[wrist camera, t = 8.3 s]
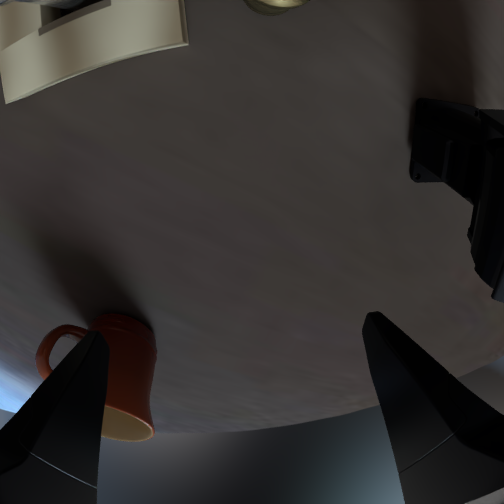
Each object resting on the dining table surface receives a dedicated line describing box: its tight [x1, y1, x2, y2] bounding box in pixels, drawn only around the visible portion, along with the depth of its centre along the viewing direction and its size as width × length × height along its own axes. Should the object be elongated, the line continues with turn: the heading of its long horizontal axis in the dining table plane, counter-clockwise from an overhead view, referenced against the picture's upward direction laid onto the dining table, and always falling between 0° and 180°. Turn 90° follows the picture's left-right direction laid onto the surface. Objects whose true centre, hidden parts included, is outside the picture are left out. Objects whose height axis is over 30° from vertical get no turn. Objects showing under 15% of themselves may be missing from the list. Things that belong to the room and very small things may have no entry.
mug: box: [35, 313, 157, 442], centre depth 23 cm, size 12×9×10 cm
